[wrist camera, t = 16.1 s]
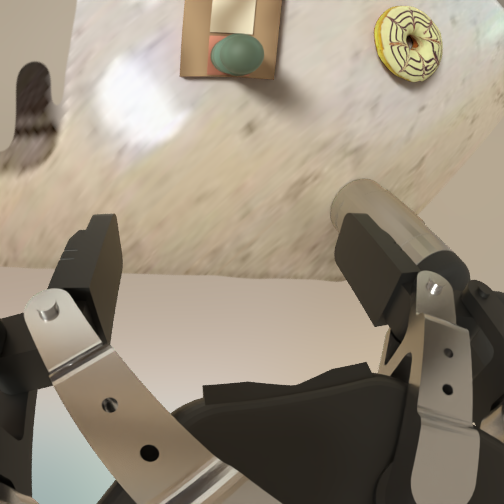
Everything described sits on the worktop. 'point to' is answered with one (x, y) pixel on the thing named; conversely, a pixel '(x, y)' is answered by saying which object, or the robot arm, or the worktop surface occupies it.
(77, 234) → the robot arm
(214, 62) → the pawn
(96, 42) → the worktop surface
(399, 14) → the decorated donut
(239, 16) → the game board
